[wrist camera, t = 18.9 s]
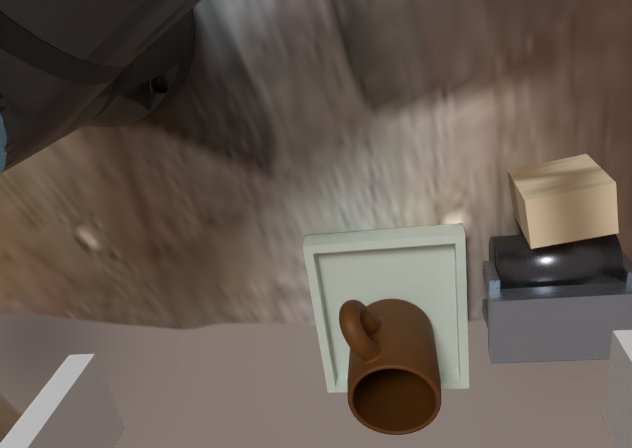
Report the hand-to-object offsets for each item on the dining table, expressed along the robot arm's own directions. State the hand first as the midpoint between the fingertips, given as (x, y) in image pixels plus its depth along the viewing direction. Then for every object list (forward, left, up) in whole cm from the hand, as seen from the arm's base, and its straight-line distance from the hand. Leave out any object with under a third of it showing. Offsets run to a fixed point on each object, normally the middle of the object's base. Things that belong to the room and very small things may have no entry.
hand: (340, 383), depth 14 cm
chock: (+14, -9, -32) cm, 36 cm away
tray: (0, -20, -32) cm, 37 cm away
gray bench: (+13, -17, -32) cm, 38 cm away
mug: (-1, -20, -31) cm, 37 cm away
